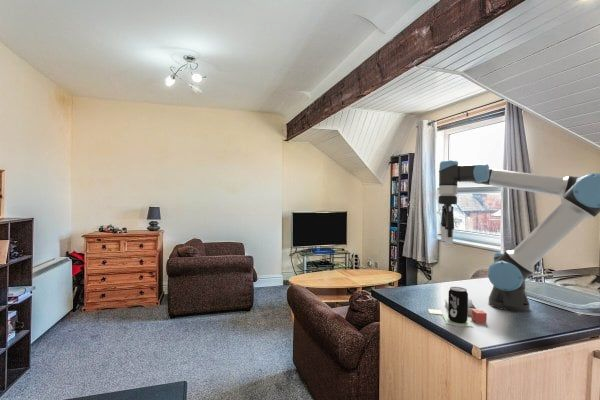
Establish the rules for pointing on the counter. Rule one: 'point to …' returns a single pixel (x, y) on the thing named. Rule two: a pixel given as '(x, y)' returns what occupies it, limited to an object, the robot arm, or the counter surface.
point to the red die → (479, 316)
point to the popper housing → (468, 308)
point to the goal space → (457, 323)
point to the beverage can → (458, 305)
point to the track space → (435, 312)
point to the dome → (469, 303)
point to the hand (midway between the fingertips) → (446, 242)
